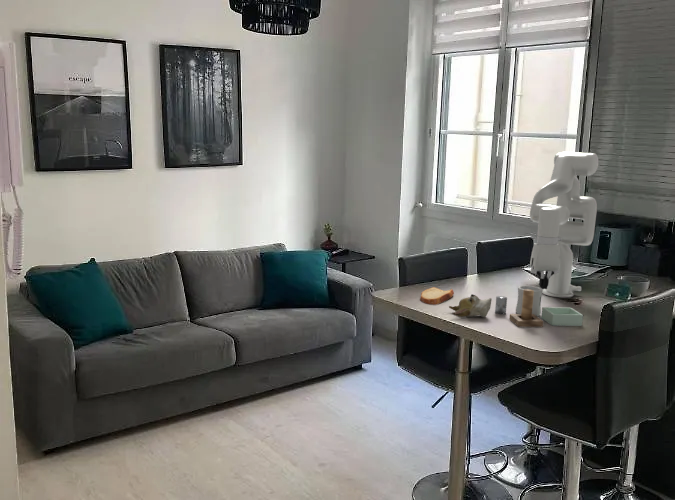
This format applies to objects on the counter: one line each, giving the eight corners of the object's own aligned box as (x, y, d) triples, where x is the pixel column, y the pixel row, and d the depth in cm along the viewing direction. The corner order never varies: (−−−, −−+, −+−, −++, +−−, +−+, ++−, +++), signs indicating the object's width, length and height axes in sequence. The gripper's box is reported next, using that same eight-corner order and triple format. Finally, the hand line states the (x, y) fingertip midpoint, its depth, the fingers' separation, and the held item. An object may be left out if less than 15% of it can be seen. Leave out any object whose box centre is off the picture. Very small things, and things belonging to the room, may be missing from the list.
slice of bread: (428, 306, 257) (428, 296, 256) (408, 294, 273) (408, 285, 273) (468, 303, 263) (469, 294, 262) (446, 292, 279) (447, 284, 279)
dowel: (528, 321, 238) (531, 289, 236) (532, 324, 235) (535, 291, 233) (519, 321, 238) (521, 289, 236) (522, 324, 235) (525, 291, 232)
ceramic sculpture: (494, 297, 236) (451, 298, 237) (493, 321, 237) (451, 321, 238) (489, 290, 246) (448, 291, 247) (488, 313, 248) (448, 313, 249)
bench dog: (503, 311, 251) (505, 296, 250) (507, 314, 247) (508, 298, 246) (493, 311, 251) (494, 296, 249) (496, 314, 247) (498, 298, 246)
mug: (543, 317, 244) (546, 291, 242) (518, 316, 244) (521, 290, 242) (534, 309, 256) (537, 284, 254) (511, 308, 256) (513, 282, 255)
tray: (569, 317, 245) (570, 307, 244) (581, 325, 235) (583, 315, 235) (541, 317, 244) (542, 307, 243) (552, 325, 234) (553, 314, 234)
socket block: (533, 319, 241) (533, 314, 241) (542, 326, 232) (543, 321, 232) (509, 319, 240) (509, 314, 240) (518, 326, 232) (518, 321, 231)
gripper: (562, 238, 250) (558, 285, 254) (524, 238, 248) (520, 285, 252) (571, 242, 242) (566, 290, 246) (531, 242, 241) (527, 291, 245)
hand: (543, 288), depth 249 cm, fingers closed
